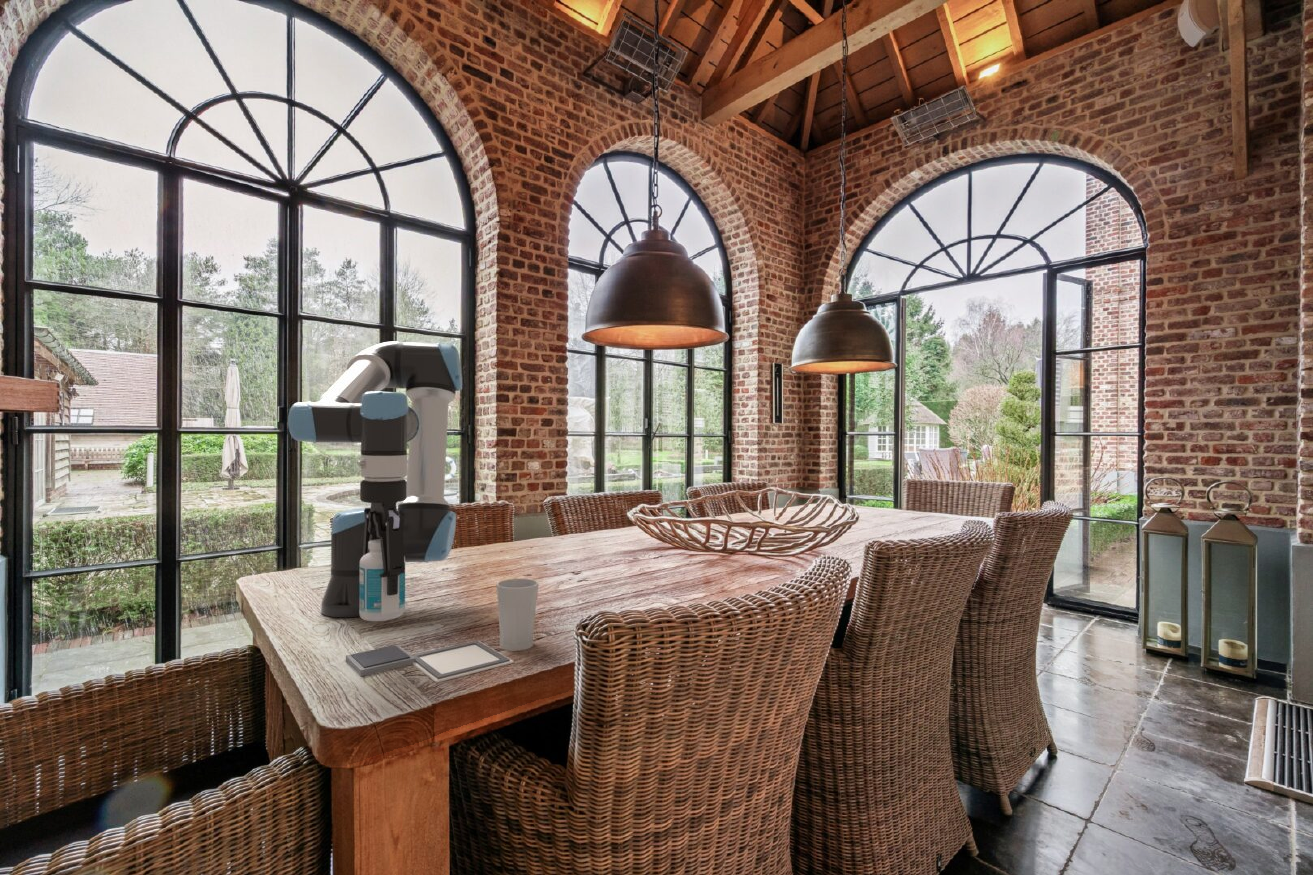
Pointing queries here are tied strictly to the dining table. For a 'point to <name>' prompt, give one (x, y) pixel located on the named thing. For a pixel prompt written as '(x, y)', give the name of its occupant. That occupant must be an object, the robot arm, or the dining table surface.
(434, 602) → the dining table surface
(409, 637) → the dining table surface
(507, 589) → the cup
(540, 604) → the dining table surface
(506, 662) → the sheet
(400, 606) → the pill bottle
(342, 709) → the dining table surface
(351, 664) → the ink pad
